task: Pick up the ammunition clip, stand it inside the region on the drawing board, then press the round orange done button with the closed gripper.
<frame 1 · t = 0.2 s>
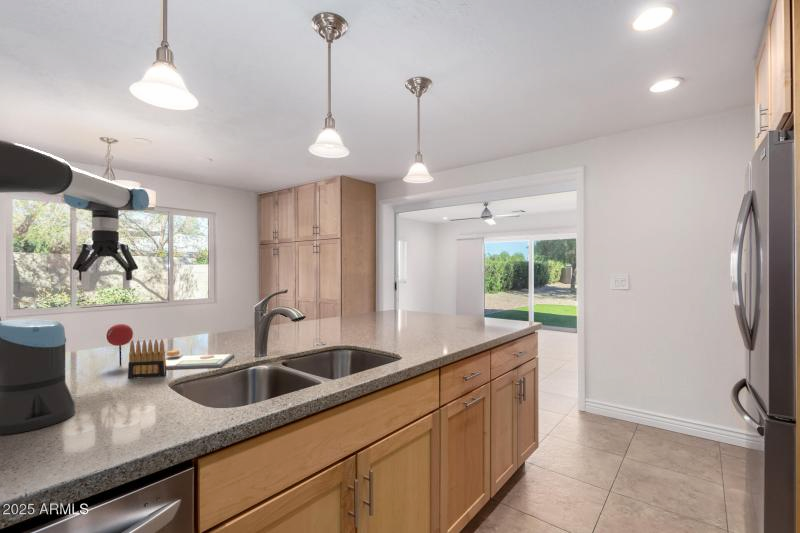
hand: (105, 289, 133), 28 cm above the table, tool pointing down, fingers open, 13 cm apart
lollipop: (120, 366, 135), on the table
ammunition clip: (147, 377, 121), on the table
done button: (173, 353, 142), point 3 cm above the table, slide at 0.0 cm
drawing board: (192, 362, 138), on the table
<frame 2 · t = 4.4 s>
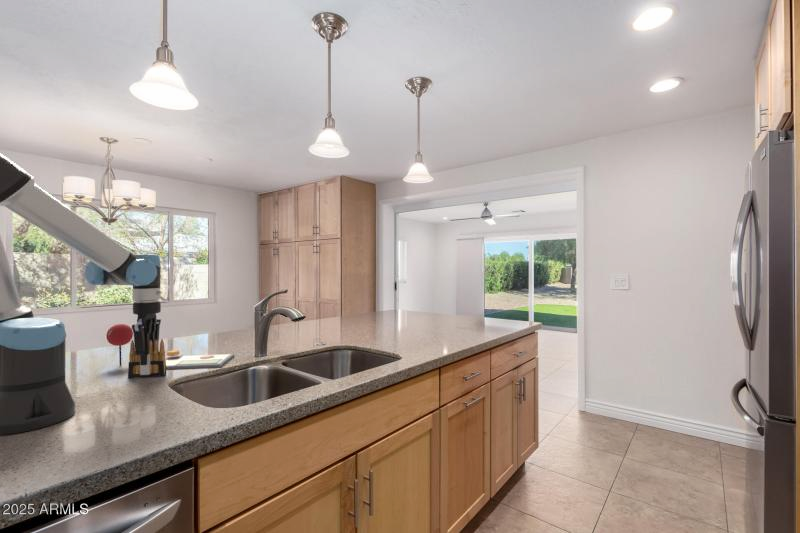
hand: (147, 373, 121), 1 cm above the table, tool pointing down, fingers closed on ammunition clip, 2 cm apart
ammunition clip: (147, 377, 121), on the table, touching gripper
everything else where it was.
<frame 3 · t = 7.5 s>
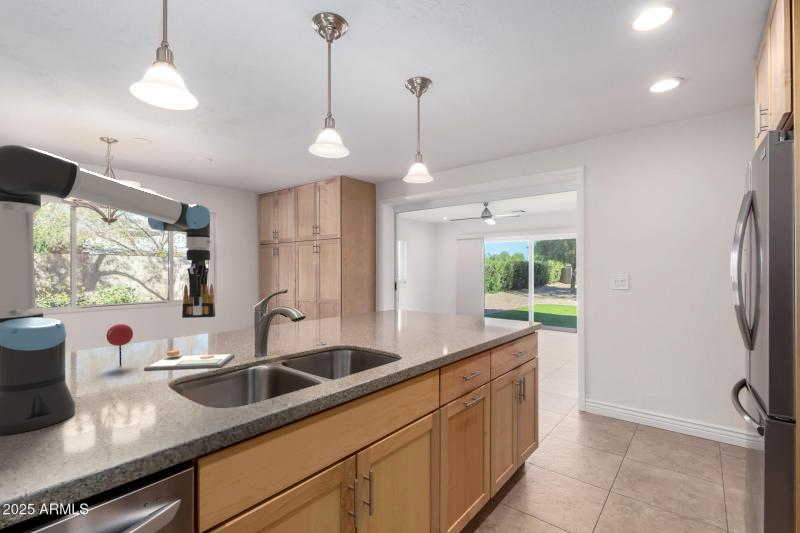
hand: (198, 314, 135), 18 cm above the table, tool pointing down, fingers closed on ammunition clip, 2 cm apart
ammunition clip: (198, 317, 135), point 17 cm above the table, touching gripper
everything else where it was.
when the fingers open (3 cm above the table, at t = 10.9 s): ammunition clip stays where it is, resting on drawing board.
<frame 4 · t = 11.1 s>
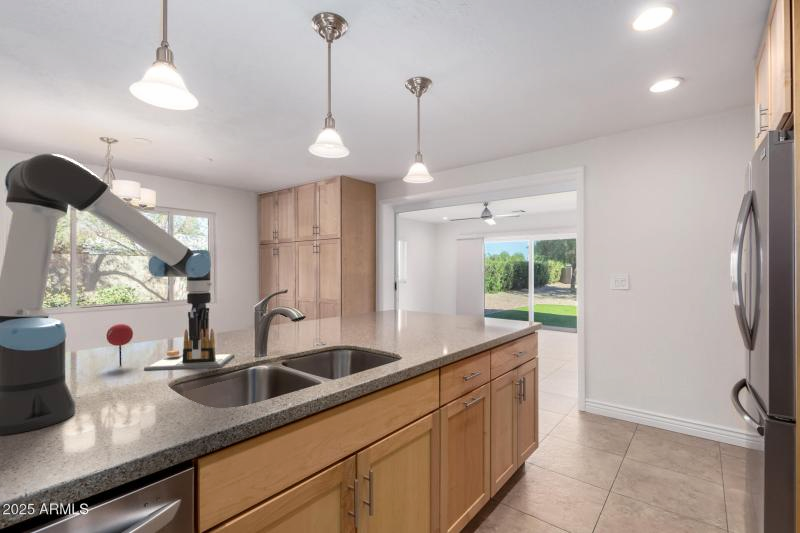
hand: (199, 356, 135), 3 cm above the table, tool pointing down, fingers open, 4 cm apart
ammunition clip: (199, 362, 135), point 1 cm above the table, touching drawing board
everything else where it was.
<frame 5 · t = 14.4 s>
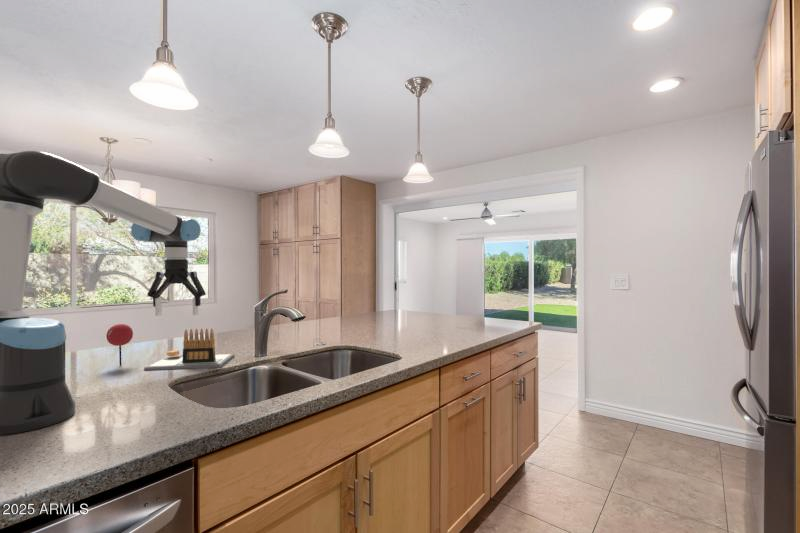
hand: (177, 315, 141), 17 cm above the table, tool pointing down, fingers open, 13 cm apart
nothing on the table moved.
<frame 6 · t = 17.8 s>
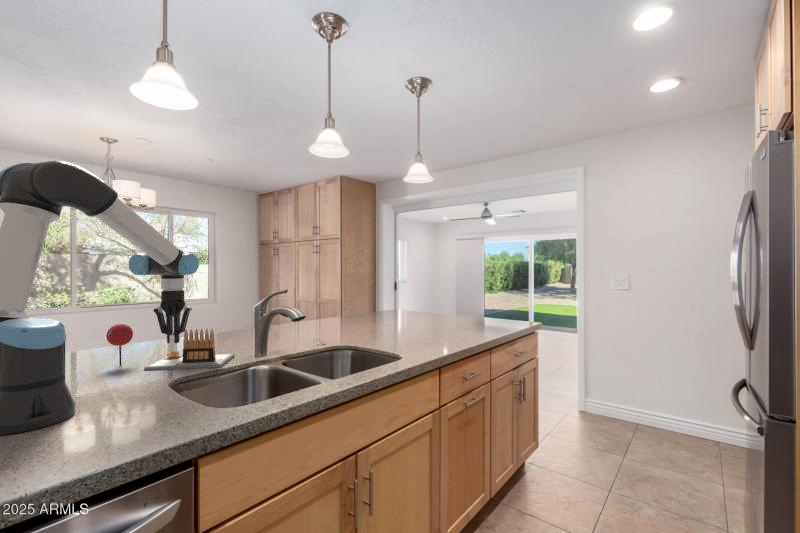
hand: (173, 351, 142), 3 cm above the table, tool pointing down, fingers closed
done button: (173, 353, 142), point 3 cm above the table, slide at 0.3 cm, touching gripper
everything else where it was.
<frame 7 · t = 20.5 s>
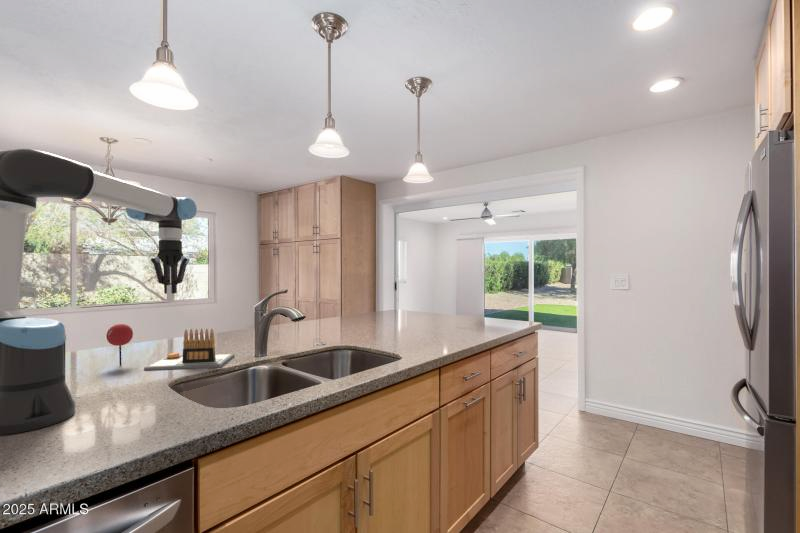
hand: (170, 302, 141), 22 cm above the table, tool pointing down, fingers closed
done button: (173, 355, 142), point 2 cm above the table, slide at 0.9 cm
everything else where it was.
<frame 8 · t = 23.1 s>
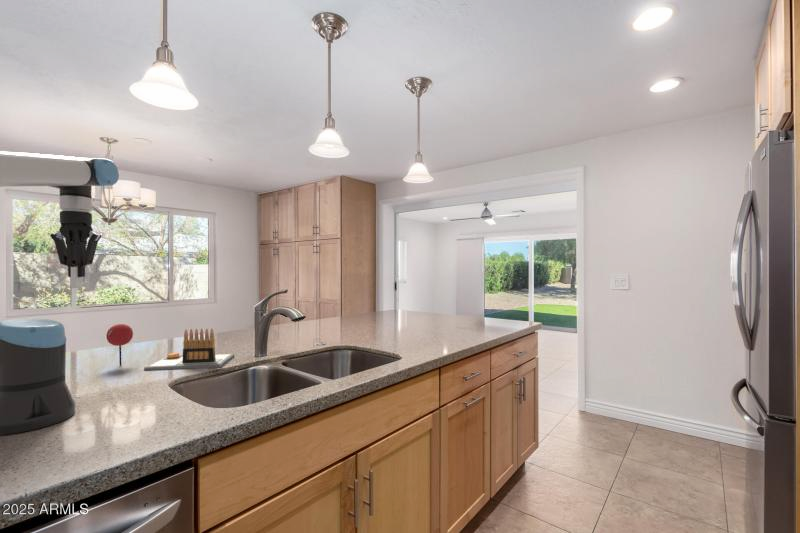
hand: (76, 287, 115), 29 cm above the table, tool pointing down, fingers closed
nothing on the table moved.
at the end: ammunition clip inside the target area (0.1 cm from its centre), point 1.0 cm above the table; ammunition clip tilted 0°; done button slide at 0.9 cm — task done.
